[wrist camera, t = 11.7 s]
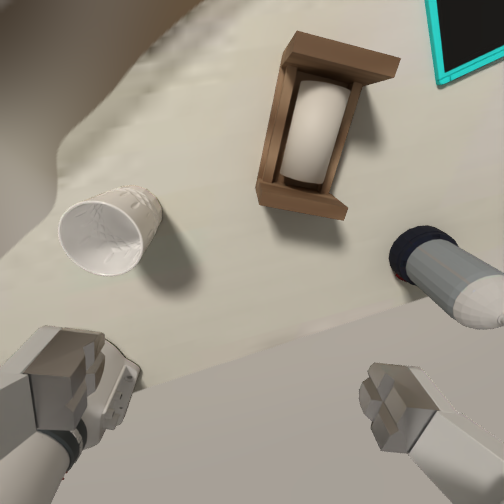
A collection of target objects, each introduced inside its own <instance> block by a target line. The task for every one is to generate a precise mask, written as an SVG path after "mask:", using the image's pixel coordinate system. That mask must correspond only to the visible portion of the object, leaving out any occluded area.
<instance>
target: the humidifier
mask: <svg viewBox="0 0 504 504" xmlns="http://www.w3.org/2000/svg"><path fill="white" fill-rule="evenodd" d="M389 262H390V266H391V267H392V269H393V270H394V271H395V272H396V273H397V274H396V275H395V276H396V277H398V278H399V279H401V280H403V281H405V282H408V283H410V284H411V285H416V286H418V287H419V288H420V289H421V290H422V291H423V292H425V293H426V294H427V295H428V296H429V297H430V298H431V299H432V300H433V301H434V302H435V303H436V304H438V305H439V306H440V307H441V308H442V309H443V310H444V311H445V312H446V313H447V314H448V315H450V317H452V318H453V319H455V320H456V321H457V322H459V323H460V324H462V325H463V326H466V327H469V328H474V329H494V328H498V327H501V326H504V273H503V272H501V271H499V270H498V269H496V268H494V267H492V266H491V265H489V264H487V263H485V262H484V261H482V260H480V259H478V258H477V257H475V256H473V255H472V254H470V253H468V252H466V251H465V250H463V249H461V248H459V247H458V245H457V243H456V241H455V240H454V239H452V237H450V236H449V235H448V234H446V233H445V232H443V231H441V230H439V229H437V228H435V227H431V226H417V227H414V228H412V229H409V230H407V231H406V232H404V233H403V234H401V235H400V236H399V237H398V238H397V240H396V241H395V242H394V243H393V245H392V247H391V249H390V254H389Z"/></svg>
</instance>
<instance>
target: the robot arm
mask: <svg viewBox="0 0 504 504" xmlns="http://www.w3.org/2000/svg"><path fill="white" fill-rule="evenodd" d="M139 372H140V368H139V367H138V366H137V365H136V364H135V363H133V362H131V361H130V360H128V359H126V358H125V357H124V356H123V355H122V354H121V353H120V351H119V350H118V349H117V348H116V347H115V346H114V345H112V344H111V343H110V342H108V341H107V340H105V334H103V333H102V332H95V331H88V330H80V329H73V328H66V327H65V328H62V327H55V326H48V325H44V326H42V327H40V328H38V329H37V330H36V331H35V332H34V333H33V334H32V335H31V337H30V338H29V339H28V340H27V341H26V342H25V343H24V344H23V345H22V346H21V347H20V348H19V349H18V350H17V351H16V352H15V353H14V354H13V355H12V356H11V357H10V358H9V359H8V360H7V361H6V362H5V363H4V364H3V365H2V366H1V367H0V504H51V502H52V500H53V498H54V496H55V493H56V491H57V489H58V487H59V485H60V483H61V481H62V480H64V478H63V477H64V475H65V473H67V472H68V471H69V470H70V469H71V467H72V466H73V464H74V463H75V462H76V461H77V459H78V458H79V456H80V455H81V452H82V450H84V449H87V448H91V447H93V446H95V445H97V444H98V443H99V442H100V440H101V438H102V436H103V434H104V432H105V430H106V429H111V430H114V429H115V427H116V426H117V425H120V424H121V423H122V421H123V419H124V417H125V414H126V411H127V408H128V405H129V402H130V399H131V396H132V393H133V390H134V387H135V384H136V381H137V378H138V375H139ZM368 374H369V378H367V379H366V380H365V381H363V382H362V384H361V387H360V389H359V401H360V405H361V408H362V410H363V412H364V414H365V415H366V416H367V417H368V418H369V419H370V420H371V421H372V424H371V430H372V432H373V434H374V436H375V439H376V441H377V443H378V445H379V447H380V449H381V451H387V452H397V453H407V454H408V456H409V457H410V458H411V459H412V460H413V461H414V462H415V463H416V464H417V465H418V467H419V468H420V469H421V470H422V471H423V472H424V473H425V474H426V475H427V476H428V477H429V478H430V479H431V481H432V482H433V483H434V484H435V485H436V486H437V487H438V488H439V489H440V490H441V491H442V493H443V494H445V496H446V497H447V498H448V499H449V500H450V501H451V502H452V503H453V504H504V442H502V441H501V440H500V439H498V438H497V437H495V436H494V435H493V434H491V433H490V432H488V431H487V430H485V429H484V428H483V427H481V426H480V425H478V424H477V423H476V422H474V421H473V420H471V419H470V418H469V417H467V416H466V415H464V414H463V413H458V412H457V411H456V410H455V409H454V407H453V406H452V405H451V404H450V402H449V401H448V400H447V398H446V397H445V396H444V395H443V393H442V392H441V391H440V390H439V388H438V387H437V386H436V385H435V383H434V382H433V381H432V380H431V378H430V377H429V376H428V375H427V373H426V372H425V371H424V370H423V369H421V368H420V367H415V366H405V365H404V366H402V365H393V364H383V363H373V364H372V365H371V366H370V368H369V370H368Z"/></svg>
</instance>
